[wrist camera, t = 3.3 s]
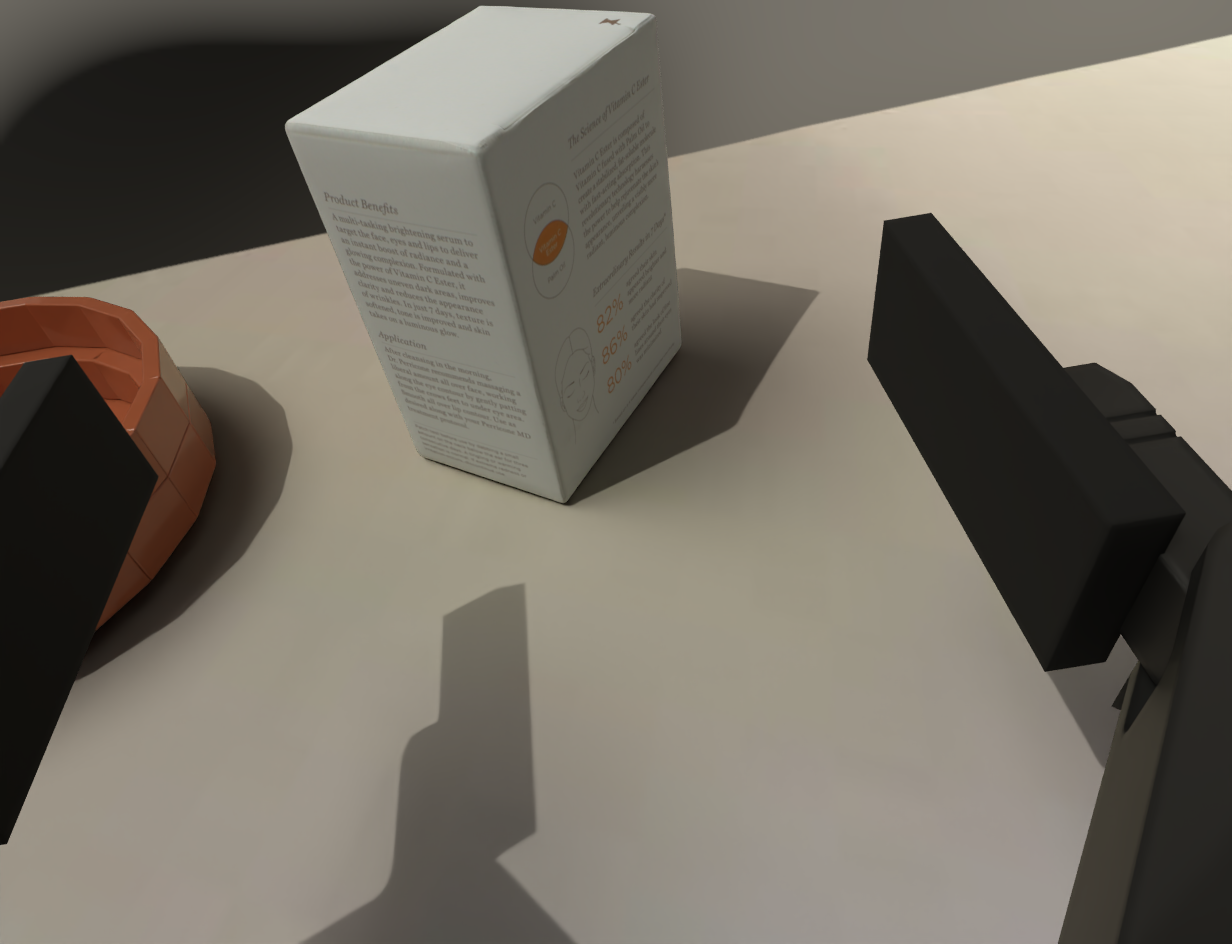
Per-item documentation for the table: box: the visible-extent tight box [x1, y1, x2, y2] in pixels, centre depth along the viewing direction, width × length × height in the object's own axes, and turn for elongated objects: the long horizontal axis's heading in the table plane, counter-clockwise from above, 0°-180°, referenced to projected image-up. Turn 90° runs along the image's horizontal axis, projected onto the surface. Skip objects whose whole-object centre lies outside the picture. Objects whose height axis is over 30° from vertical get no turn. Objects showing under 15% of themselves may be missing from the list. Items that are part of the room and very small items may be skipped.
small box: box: [285, 6, 682, 503], centre depth 23 cm, size 8×6×10 cm
